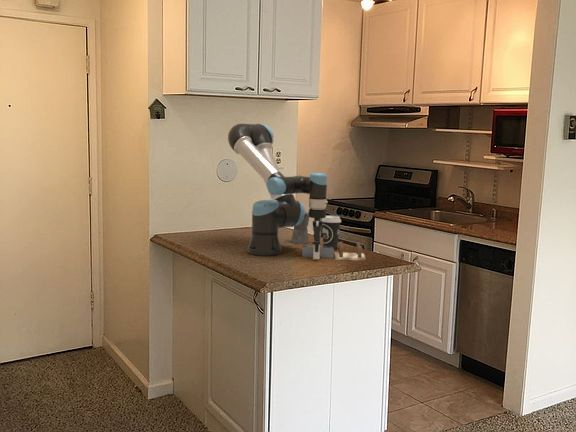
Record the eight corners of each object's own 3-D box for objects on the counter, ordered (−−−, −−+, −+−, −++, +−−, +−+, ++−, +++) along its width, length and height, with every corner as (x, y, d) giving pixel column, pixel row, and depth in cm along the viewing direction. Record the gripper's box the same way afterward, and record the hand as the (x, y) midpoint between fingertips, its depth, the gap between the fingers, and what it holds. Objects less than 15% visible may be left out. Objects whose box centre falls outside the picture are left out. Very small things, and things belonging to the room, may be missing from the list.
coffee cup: (339, 250, 288) (340, 218, 286) (318, 249, 290) (319, 217, 288) (341, 246, 297) (342, 216, 295) (321, 245, 299) (322, 214, 297)
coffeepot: (314, 244, 303) (315, 207, 300) (297, 245, 299) (298, 208, 296) (300, 238, 317) (301, 203, 314) (284, 239, 313) (285, 204, 310)
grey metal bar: (302, 256, 272) (302, 247, 271) (302, 254, 276) (302, 245, 276) (333, 258, 271) (333, 248, 271) (333, 255, 276) (333, 246, 275)
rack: (335, 259, 268) (335, 245, 267) (334, 254, 279) (334, 241, 278) (365, 260, 268) (366, 246, 267) (363, 255, 279) (364, 242, 278)
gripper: (326, 212, 258) (325, 262, 261) (325, 205, 283) (324, 250, 286) (308, 211, 259) (307, 261, 261) (309, 204, 283) (307, 250, 286)
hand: (316, 256), depth 274 cm, fingers open, 13 cm apart
